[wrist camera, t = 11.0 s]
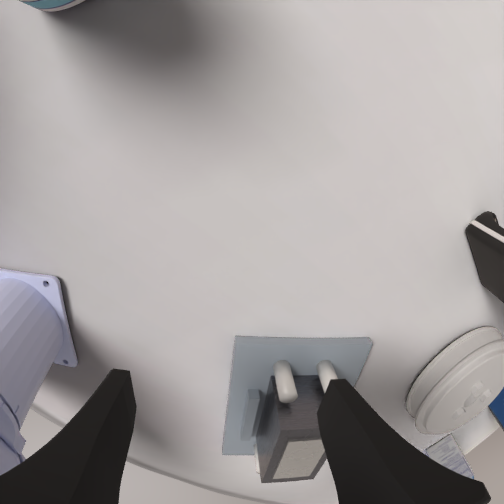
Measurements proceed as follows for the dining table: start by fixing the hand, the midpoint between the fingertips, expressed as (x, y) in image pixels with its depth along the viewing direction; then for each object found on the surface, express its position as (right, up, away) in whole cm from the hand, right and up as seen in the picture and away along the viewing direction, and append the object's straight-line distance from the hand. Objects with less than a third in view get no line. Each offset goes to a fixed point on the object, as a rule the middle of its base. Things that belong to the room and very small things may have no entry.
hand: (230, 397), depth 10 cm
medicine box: (+29, -24, +24) cm, 45 cm away
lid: (+22, -7, +16) cm, 28 cm away
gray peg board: (+4, -8, +14) cm, 16 cm away
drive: (+4, -8, +13) cm, 16 cm away
